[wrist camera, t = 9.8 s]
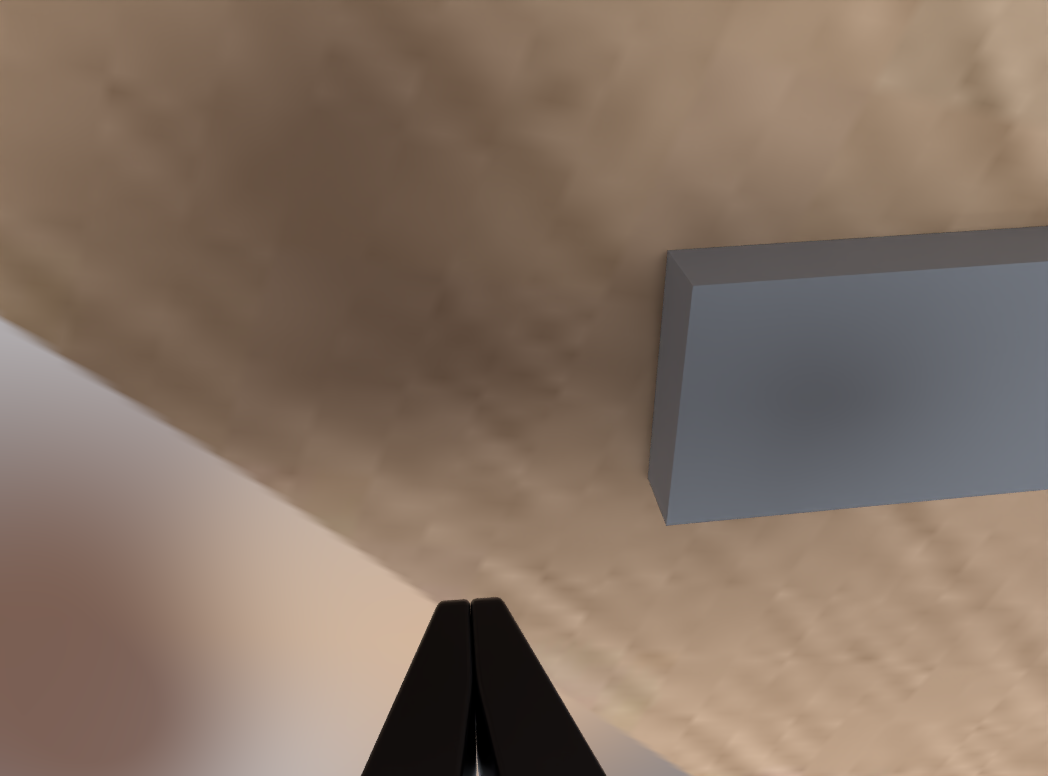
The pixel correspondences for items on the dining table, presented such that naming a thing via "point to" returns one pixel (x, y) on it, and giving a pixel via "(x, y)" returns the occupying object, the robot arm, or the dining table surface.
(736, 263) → the slab
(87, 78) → the dining table surface
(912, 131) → the dining table surface
